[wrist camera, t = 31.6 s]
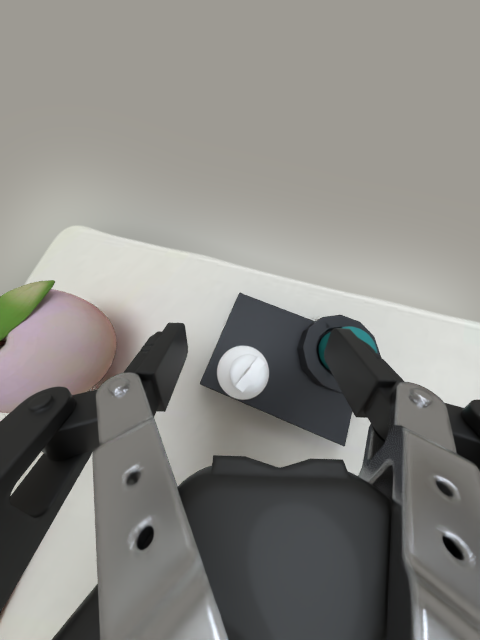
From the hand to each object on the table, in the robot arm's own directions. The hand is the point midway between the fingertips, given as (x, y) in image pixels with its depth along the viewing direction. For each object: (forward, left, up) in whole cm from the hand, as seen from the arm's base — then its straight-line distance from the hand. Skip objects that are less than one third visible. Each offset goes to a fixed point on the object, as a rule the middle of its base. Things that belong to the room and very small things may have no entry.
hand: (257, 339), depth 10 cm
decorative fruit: (+14, +6, -10) cm, 18 cm away
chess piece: (0, +2, -8) cm, 9 cm away
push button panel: (-4, -1, -10) cm, 10 cm away
